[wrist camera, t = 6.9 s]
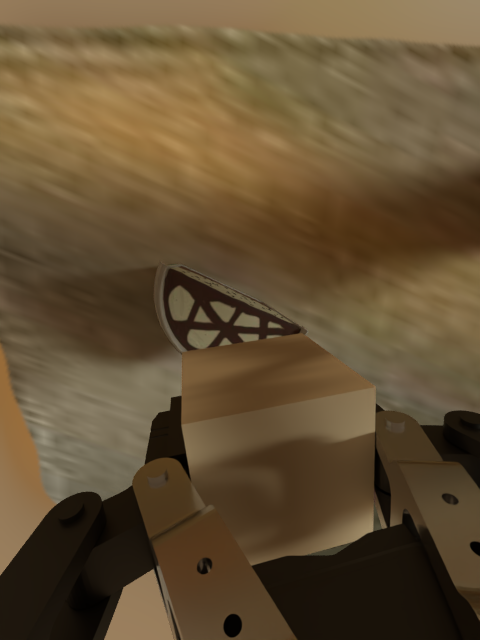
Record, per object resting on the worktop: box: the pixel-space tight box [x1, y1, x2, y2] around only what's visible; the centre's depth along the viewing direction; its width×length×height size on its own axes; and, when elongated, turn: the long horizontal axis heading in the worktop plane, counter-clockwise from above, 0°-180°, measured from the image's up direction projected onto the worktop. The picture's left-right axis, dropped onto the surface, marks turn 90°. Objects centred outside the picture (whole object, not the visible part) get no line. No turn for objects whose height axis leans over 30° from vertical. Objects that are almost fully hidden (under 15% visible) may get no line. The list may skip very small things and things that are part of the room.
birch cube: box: [181, 333, 376, 566], centre depth 10 cm, size 5×5×5 cm
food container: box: [154, 261, 308, 354], centre depth 26 cm, size 12×6×10 cm, turn 64°
